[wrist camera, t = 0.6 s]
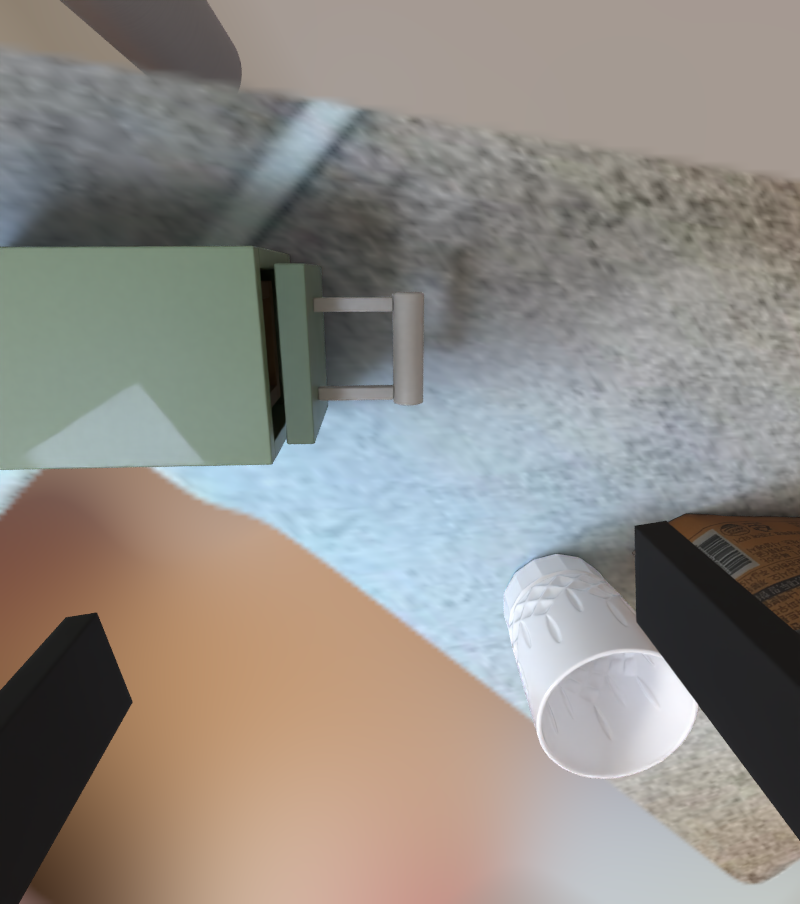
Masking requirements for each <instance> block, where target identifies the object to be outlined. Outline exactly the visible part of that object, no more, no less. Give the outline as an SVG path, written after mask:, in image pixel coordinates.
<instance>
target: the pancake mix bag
mask: <svg viewBox="0 0 800 904" xmlns="http://www.w3.org/2000/svg"><path fill="white" fill-rule="evenodd" d="M668 523H669V524H670V525H672V526H673V527H674V528H675V529H676V530H678V531H679V532H680V533H681V534H682V535H683V536H685V537H686V538H687V539H688V540H689V541H690V542H692V543H693V544H694V545H695V546H696V547H697V548H699V549H700V550H701V551H702V552H703V553H704V554H706V555H707V556H708V557H709V558H710V559H712V560H713V561H714V562H715V563H716V564H717V565H719V566H720V567H721V568H722V569H723V570H724V571H726V572H727V573H728V574H729V575H730V576H731V577H733V578H734V579H735V580H736V581H737V582H739V583H740V584H741V585H742V586H743V587H744V588H746V589H747V590H748V591H749V592H750V593H751V594H753V595H754V596H755V597H756V598H757V599H758V600H760V601H761V602H762V603H763V604H764V605H765V606H767V607H768V608H769V609H770V610H771V611H773V612H774V613H775V614H776V615H777V616H778V617H780V618H781V619H782V620H783V621H784V622H785V623H787V624H788V625H789V626H790V627H791V628H792V629H794V630H798V629H800V517H777V516H722V515H709V514H684V515H682V516H680V517H678V518H676V519H674V520H672V521H670V522H668ZM632 554H634V555H635V550H634V551H633V552H632Z"/></svg>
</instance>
